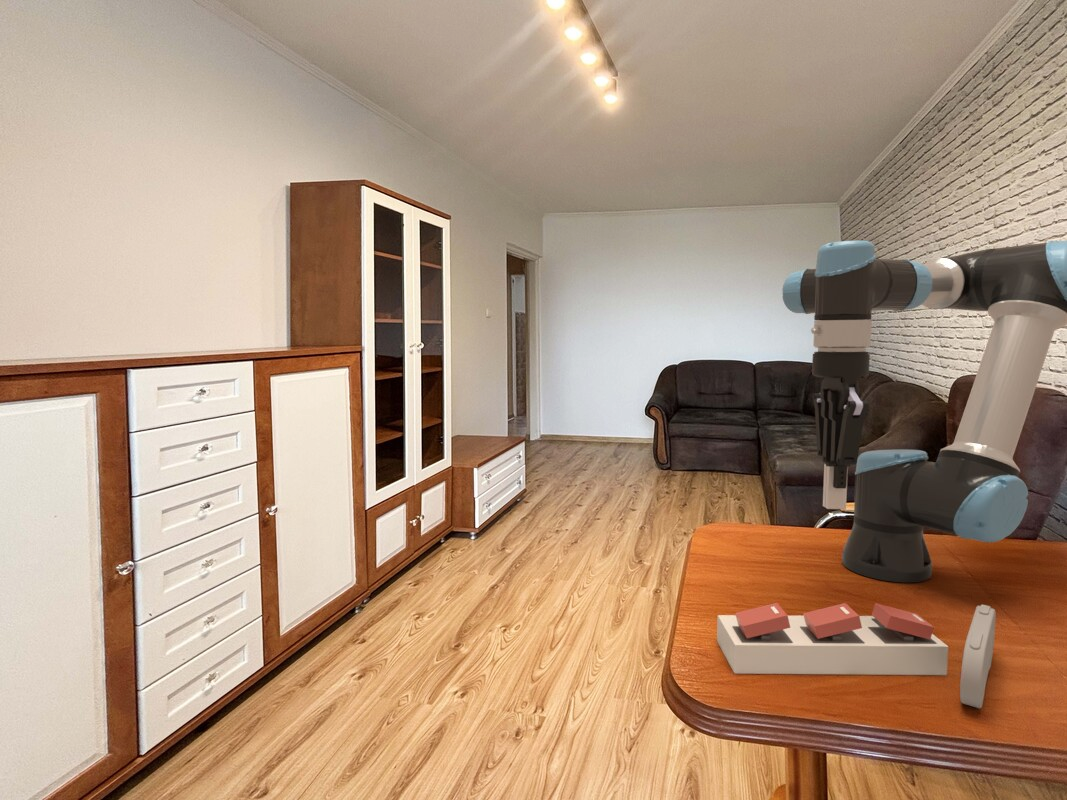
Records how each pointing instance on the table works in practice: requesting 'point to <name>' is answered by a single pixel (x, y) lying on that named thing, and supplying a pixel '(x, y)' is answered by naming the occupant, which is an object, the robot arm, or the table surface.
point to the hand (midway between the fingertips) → (834, 507)
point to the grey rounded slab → (977, 656)
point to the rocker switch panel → (831, 650)
